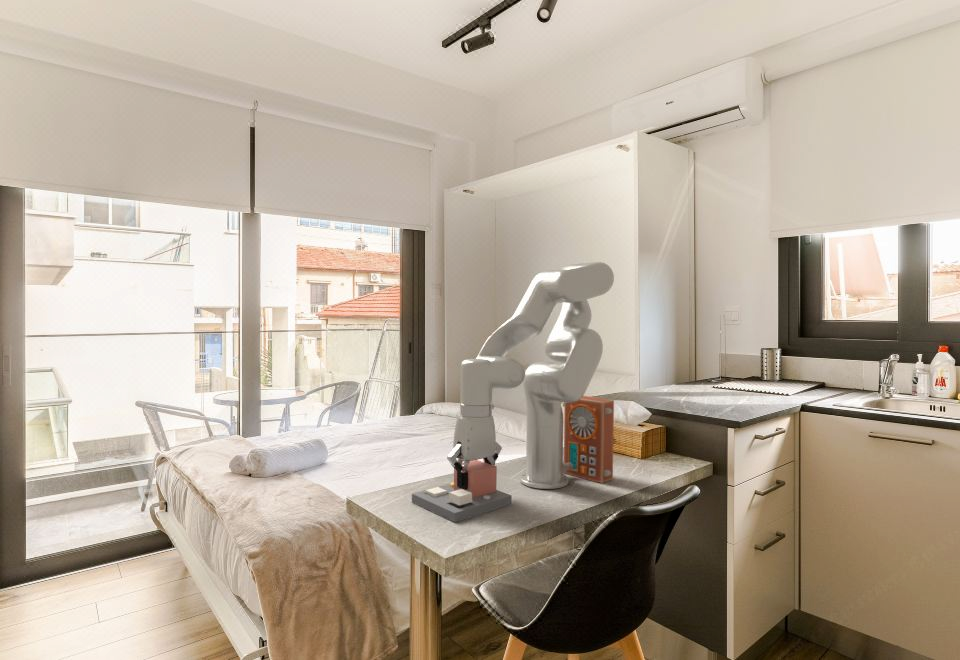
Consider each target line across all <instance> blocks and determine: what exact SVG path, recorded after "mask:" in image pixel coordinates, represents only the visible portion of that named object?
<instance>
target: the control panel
mask: <svg viewBox="0 0 960 660" xmlns="http://www.w3.org/2000/svg"><path fill="white" fill-rule="evenodd" d="M561 406H562V407H564V410H563V411H564V412H563V463H568V462H571V463H572V464H573V469H570V470H566V472H565V475H568V476H573V477H578V478H581V479H584V480H588V481H592V482H594V483H595V482H596V483H600V484H604V483H606V482H608V481H611V480H613V479H614V477H613V476H614V471H613V470H614V429H615V428H614V425H615V424H614V423H615V421H614V418H615V417H614V415H615V414H614V413H615V412H614V411H615V400H614V399H609V398H604V397H603V398H601V397H594V396H587V395H583V396H582V398H581V399H580V400H578V401H577V402H574V403H565V402H562V405H561Z"/></svg>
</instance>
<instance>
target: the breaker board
mask: <svg viewBox="0 0 960 660" xmlns="http://www.w3.org/2000/svg"><path fill="white" fill-rule="evenodd" d="M438 487H439V488H442V489H444V490H446V491H447V495H443V496H439V497H436V498H433V497H431V496H429V495H427V494H426V490H427V489H425V490H424V489H423V490H421V491H417V492H413V493H411V503H413V504H415V505H417V506H419V507H422V508H423V509H425V510H428V511H430V512H433V513H434V514H435V515H438V516H440V517H442V518H445V519H447V520H449V521H451V522H453V523H457V522H461V521H463V520H467V519H469V518H473V517H475V516H479V515H482V514H485V513H488V512H491V511H495V510H497V509H500V508H503V507H504V508H505V507H507V506H510V505H512V501H513V500H512V497H513V496H512V494H509V493H506V492H503V491H500V490H498V489H496V492H492V493H489V494H485V495H482V496H479V497H475V498H472V502H470V503H467V504H463V505H460V506H459V505H457V504H455V503H452V502H450V501H449V492H452V491H455V490H454V482H450V483H448V484H444V485H440V486H438Z"/></svg>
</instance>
